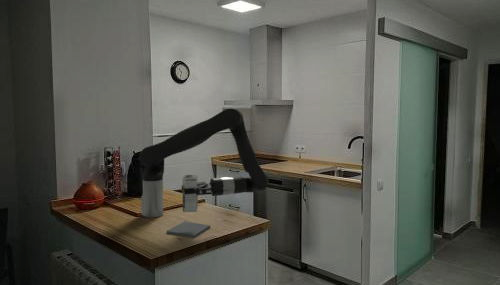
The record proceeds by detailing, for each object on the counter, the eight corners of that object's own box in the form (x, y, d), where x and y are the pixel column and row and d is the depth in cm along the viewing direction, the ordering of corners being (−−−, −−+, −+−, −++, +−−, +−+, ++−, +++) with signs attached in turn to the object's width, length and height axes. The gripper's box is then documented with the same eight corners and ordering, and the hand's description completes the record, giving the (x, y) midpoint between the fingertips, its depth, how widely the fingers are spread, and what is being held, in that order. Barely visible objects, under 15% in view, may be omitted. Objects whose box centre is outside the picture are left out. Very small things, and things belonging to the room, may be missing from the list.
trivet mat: (166, 233, 141) (166, 230, 141) (184, 223, 153) (184, 221, 153) (193, 238, 136) (193, 235, 136) (210, 227, 148) (210, 225, 148)
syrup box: (184, 208, 146) (183, 174, 144) (198, 207, 147) (197, 174, 145) (182, 212, 140) (181, 177, 139) (197, 212, 141) (196, 177, 139)
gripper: (218, 174, 154) (180, 177, 148) (226, 181, 140) (185, 184, 135) (218, 191, 154) (180, 194, 149) (226, 199, 141) (185, 203, 135)
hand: (183, 189), depth 142 cm, fingers closed on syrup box, 6 cm apart
